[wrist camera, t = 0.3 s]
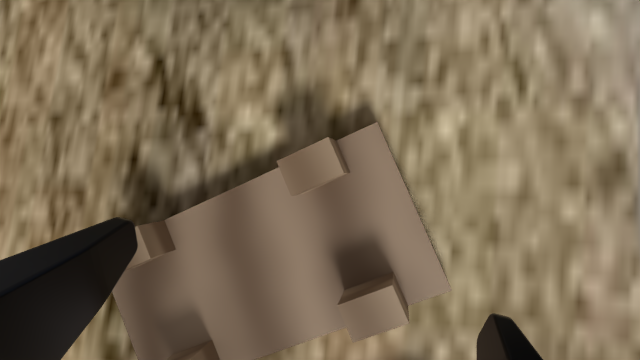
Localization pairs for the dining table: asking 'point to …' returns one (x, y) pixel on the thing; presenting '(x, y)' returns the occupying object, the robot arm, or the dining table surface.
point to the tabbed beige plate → (283, 259)
